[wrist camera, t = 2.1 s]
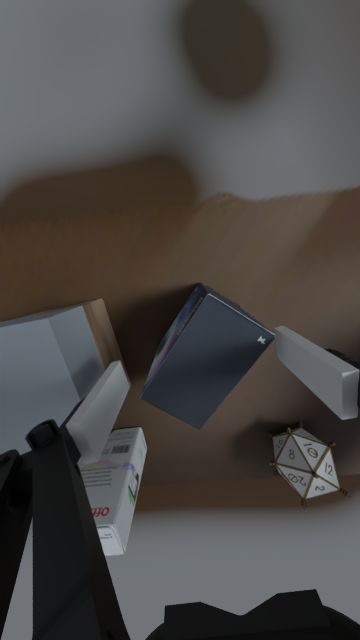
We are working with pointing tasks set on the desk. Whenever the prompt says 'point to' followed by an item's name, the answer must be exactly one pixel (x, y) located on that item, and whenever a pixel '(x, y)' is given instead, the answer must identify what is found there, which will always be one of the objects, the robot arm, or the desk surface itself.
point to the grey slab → (44, 371)
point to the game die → (305, 463)
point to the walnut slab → (99, 331)
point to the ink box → (115, 486)
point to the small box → (204, 356)
